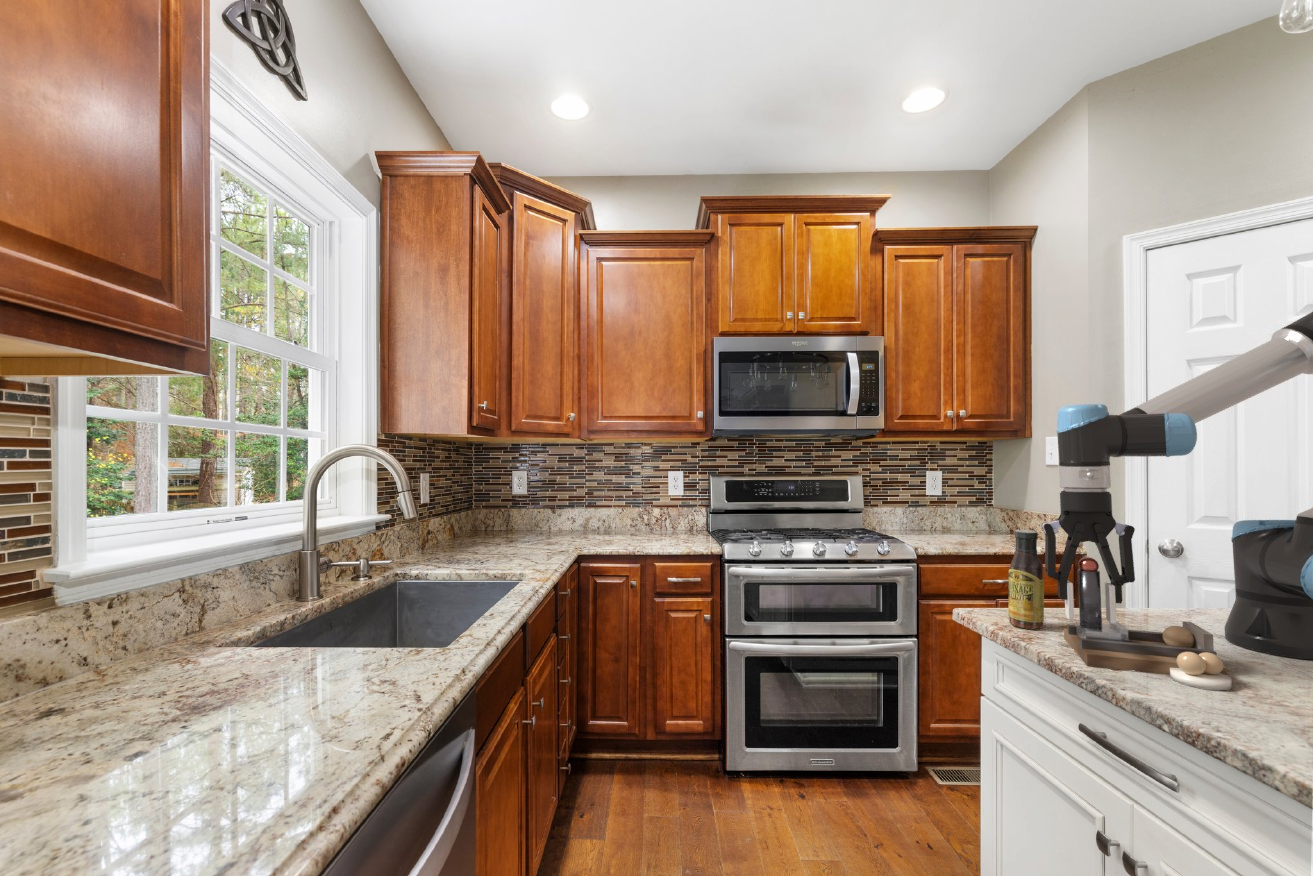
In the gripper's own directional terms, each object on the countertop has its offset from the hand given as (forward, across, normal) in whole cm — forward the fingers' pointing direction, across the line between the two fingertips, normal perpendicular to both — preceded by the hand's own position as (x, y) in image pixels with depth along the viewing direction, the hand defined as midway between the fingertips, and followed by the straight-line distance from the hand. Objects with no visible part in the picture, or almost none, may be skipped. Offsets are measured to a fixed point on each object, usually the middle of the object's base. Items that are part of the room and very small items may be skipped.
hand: (1090, 619), depth 104 cm
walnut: (+4, +12, 0) cm, 13 cm away
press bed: (+6, +6, 0) cm, 9 cm away
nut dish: (+6, +12, -10) cm, 16 cm away
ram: (+4, +1, 0) cm, 4 cm away
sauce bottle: (+6, -8, +15) cm, 18 cm away
